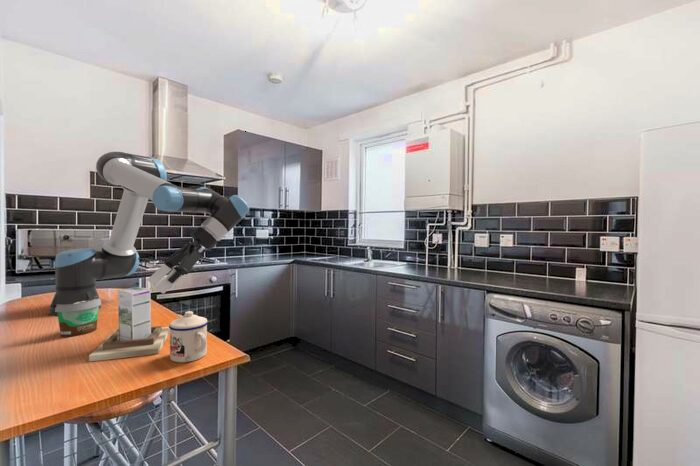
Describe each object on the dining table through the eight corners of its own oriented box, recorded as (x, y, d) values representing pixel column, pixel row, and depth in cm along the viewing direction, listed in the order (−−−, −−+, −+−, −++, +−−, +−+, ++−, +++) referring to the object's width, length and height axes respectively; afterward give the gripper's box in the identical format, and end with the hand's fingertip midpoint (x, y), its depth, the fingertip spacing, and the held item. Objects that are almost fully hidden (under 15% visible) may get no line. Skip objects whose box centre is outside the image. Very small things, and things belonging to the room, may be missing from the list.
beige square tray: (113, 336, 96) (113, 326, 96) (170, 331, 101) (170, 322, 101) (89, 361, 79) (89, 349, 79) (158, 353, 84) (158, 342, 84)
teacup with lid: (162, 357, 82) (162, 312, 82) (196, 346, 90) (196, 305, 89) (186, 370, 76) (186, 321, 75) (221, 357, 83) (221, 313, 83)
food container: (71, 340, 92) (71, 306, 92) (55, 338, 94) (54, 304, 93) (111, 326, 104) (111, 296, 104) (96, 325, 106) (96, 295, 105)
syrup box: (152, 337, 92) (152, 287, 91) (131, 345, 86) (131, 292, 86) (138, 334, 94) (137, 286, 93) (117, 341, 88) (117, 290, 87)
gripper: (231, 245, 94) (174, 303, 84) (206, 240, 113) (157, 287, 103) (212, 227, 90) (151, 285, 81) (189, 225, 109) (137, 272, 100)
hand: (154, 286), depth 92 cm, fingers open, 13 cm apart
